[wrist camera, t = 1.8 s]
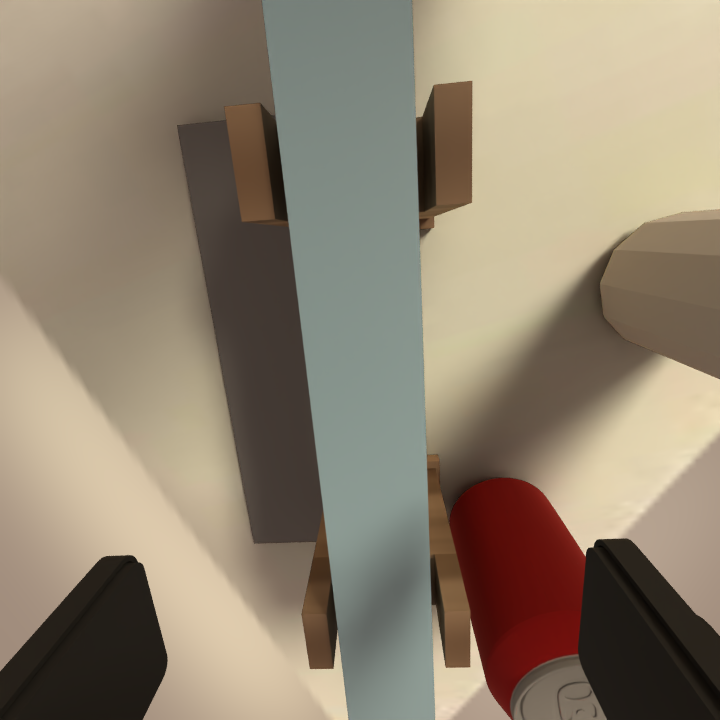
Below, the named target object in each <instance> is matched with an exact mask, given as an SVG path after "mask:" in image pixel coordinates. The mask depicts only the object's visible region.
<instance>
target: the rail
mask: <svg viewBox="0 0 720 720" xmlns="http://www.w3.org/2000/svg"><path fill="white" fill-rule="evenodd" d="M262 6H263V15H264V23H265V31H266V39H267V48H268V56H269V64H270V73H271V81H272V89H273V97H274V106H275V114H276V122H277V131H278V139H279V147H280V155H281V164H282V172H283V180H284V188H285V197H286V205H287V213H288V222H289V230H290V238H291V246H292V255H293V263H294V271H295V280H296V288H297V296H298V304H299V313H300V321H301V329H302V337H303V346H304V354H305V362H306V371H307V379H308V387H309V395H310V404H311V412H312V420H313V428H314V437H315V445H316V453H317V462H318V470H319V478H320V486H321V495H322V503H323V511H324V520H325V528H326V536H327V544H328V553H329V561H330V569H331V577H332V586H333V594H334V602H335V611H336V619H337V627H338V635H339V644H340V652H341V660H342V669H343V677H344V685H345V693H346V702H347V710H348V718H349V720H435V700H434V669H433V638H432V607H431V576H430V545H429V514H428V483H427V451H426V420H425V389H424V358H423V327H422V296H421V265H420V234H419V203H418V172H417V141H416V110H415V79H414V48H413V16H412V0H262Z"/></svg>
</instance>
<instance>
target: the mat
mask: <svg viewBox="0 0 720 720" xmlns="http://www.w3.org/2000/svg"><path fill="white" fill-rule="evenodd" d="M272 117H273V118H274V119H275V120H276V115H275V116H272ZM177 128H178V133H179V139H180V144H181V150H182V155H183V160H184V166H185V171H186V177H187V182H188V187H189V193H190V198H191V204H192V209H193V215H194V220H195V225H196V231H197V236H198V242H199V247H200V253H201V258H202V263H203V269H204V274H205V280H206V285H207V291H208V296H209V301H210V307H211V312H212V318H213V323H214V328H215V334H216V339H217V345H218V350H219V356H220V361H221V366H222V372H223V377H224V383H225V388H226V394H227V399H228V404H229V410H230V415H231V421H232V426H233V431H234V437H235V442H236V448H237V453H238V459H239V464H240V469H241V475H242V480H243V486H244V491H245V497H246V502H247V507H248V513H249V518H250V524H251V529H252V535H253V540H254V543H285V542H317V537H318V532H319V527H320V522H321V517H322V513H323V503H322V495H321V486H320V478H319V470H318V462H317V453H316V445H315V437H314V428H313V420H312V412H311V404H310V395H309V387H308V379H307V371H306V362H305V354H304V346H303V337H302V329H301V321H300V313H299V304H298V296H297V288H296V280H295V271H294V263H293V255H292V246H291V238H290V230H289V227H285V226H275V225H266V224H257V223H247V222H242V220H241V213H240V207H239V200H238V194H237V187H236V181H235V174H234V168H233V161H232V154H231V148H230V141H229V135H228V128H227V122H226V120H225V121H215V122H206V123H196V124H186V125H177Z"/></svg>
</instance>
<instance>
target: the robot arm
mask: <svg viewBox="0 0 720 720" xmlns="http://www.w3.org/2000/svg"><path fill="white" fill-rule="evenodd" d="M578 655H579V660H580V663H581V666H582V669H583V671H584V673H585V676H586V678H587V680H588V682H589V684H590V686H591V688H592V690H593V692H594V694H595V696H596V698H597V700H598V702H599V704H600V706H601V708H602V710H603V713H604V715H605V717H606V719H607V720H720V636H719V635H718V634H717V633H716V632H715V630H714V629H713V628H712V627H711V626H710V625H709V624H708V623H707V622H706V621H705V620H704V619H703V618H701V617H700V616H698V615H696V614H695V613H694V612H693V611H692V610H691V608H690V607H689V606H688V605H687V604H686V603H685V601H684V600H683V599H682V598H681V597H680V596H679V594H678V593H677V592H676V591H675V590H674V589H673V587H672V586H671V585H670V584H669V583H668V582H667V581H666V579H665V578H664V577H663V576H662V575H661V574H660V573H659V571H658V570H657V569H656V568H655V567H654V566H653V565H652V563H651V562H650V561H649V560H648V559H647V558H646V556H645V555H644V554H643V553H642V552H641V551H640V549H639V548H638V547H637V546H636V545H635V544H634V543H633V542H632V541H631V540H629V539H599V540H596V542H595V544H594V548H588V549H587V552H586V562H585V573H584V584H583V596H582V607H581V618H580V630H579V641H578ZM166 668H167V653H166V649H165V645H164V641H163V638H162V634H161V630H160V627H159V623H158V619H157V616H156V611H155V608H154V604H153V600H152V596H151V592H150V588H149V585H148V581H147V577H146V573H145V570H144V566H143V564H141V563H138V561H137V559H136V558H135V557H134V556H131V555H126V556H106V557H103V558H101V560H99V561H98V562H97V563H96V564H95V565H94V567H93V568H92V569H91V570H90V571H89V572H88V573H87V574H86V576H85V577H84V578H83V579H82V580H81V581H80V582H79V583H78V584H77V586H76V587H75V588H74V589H73V590H72V591H71V592H70V593H69V595H68V596H67V597H66V598H65V599H64V600H63V601H62V602H61V604H60V605H59V606H58V607H57V608H56V609H55V610H54V611H53V613H52V614H51V615H50V616H49V617H48V618H47V619H46V621H45V622H44V623H43V624H42V625H41V626H40V627H39V628H38V630H37V631H36V632H35V633H34V634H33V635H32V636H31V637H30V639H29V640H28V641H27V642H26V643H25V644H24V645H23V646H22V648H21V649H20V650H19V651H18V652H17V653H16V654H15V655H14V657H13V658H12V659H11V660H10V661H9V662H8V663H7V664H6V666H5V667H4V668H3V669H2V670H1V671H0V720H143V718H144V716H145V714H146V712H147V710H148V708H149V706H150V704H151V702H152V699H153V697H154V696H155V694H156V691H157V689H158V687H159V686H160V684H161V681H162V679H163V677H164V675H165V671H166Z"/></svg>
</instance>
